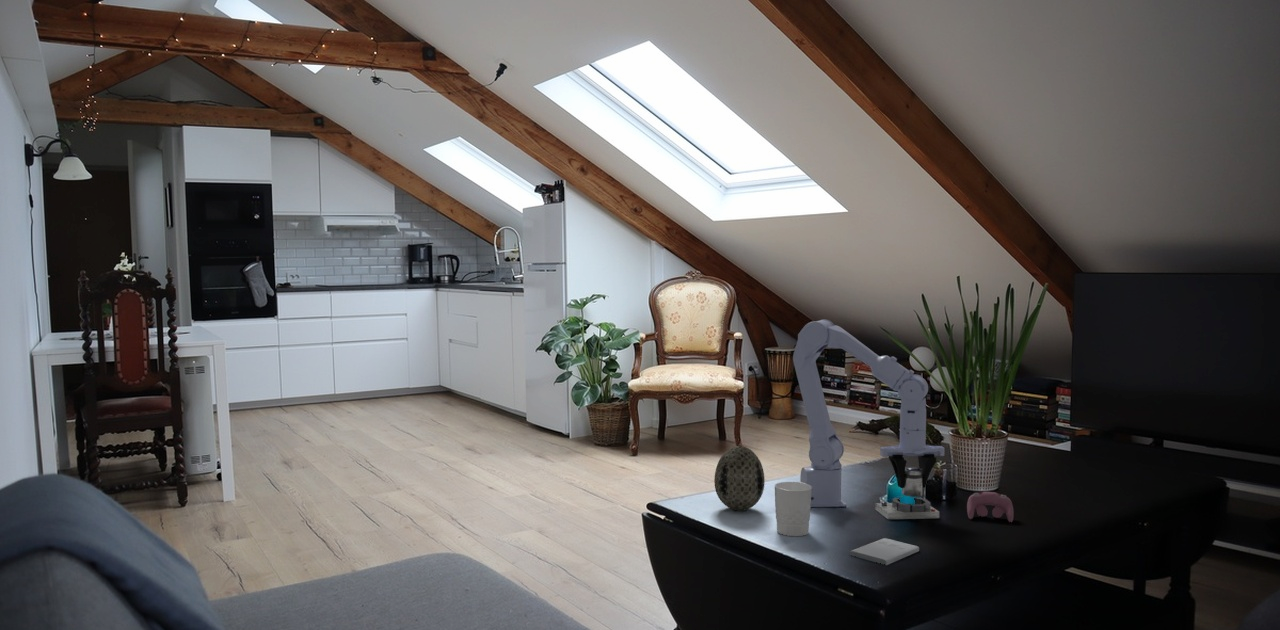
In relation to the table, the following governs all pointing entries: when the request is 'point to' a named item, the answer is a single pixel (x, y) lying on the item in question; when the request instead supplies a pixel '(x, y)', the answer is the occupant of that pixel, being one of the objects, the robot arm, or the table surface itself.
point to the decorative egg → (739, 478)
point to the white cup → (793, 508)
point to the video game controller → (990, 498)
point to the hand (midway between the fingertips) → (911, 486)
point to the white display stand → (907, 509)
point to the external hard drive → (884, 551)
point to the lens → (913, 482)
